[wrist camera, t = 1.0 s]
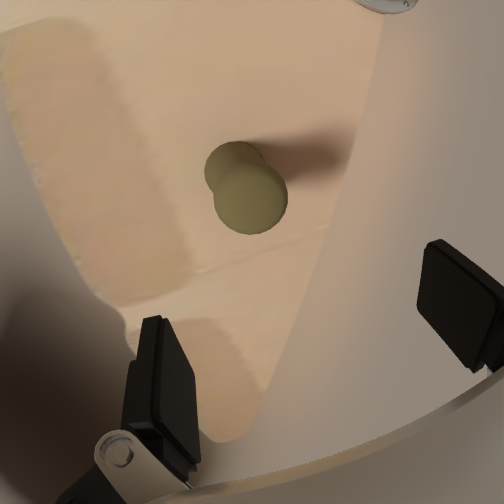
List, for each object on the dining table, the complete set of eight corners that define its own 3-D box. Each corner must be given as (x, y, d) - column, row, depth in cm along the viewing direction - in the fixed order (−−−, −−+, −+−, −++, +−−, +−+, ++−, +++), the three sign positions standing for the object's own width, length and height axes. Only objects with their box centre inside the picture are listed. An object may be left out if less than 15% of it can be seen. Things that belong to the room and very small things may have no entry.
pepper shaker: (275, 155, 29) (314, 181, 20) (250, 208, 31) (276, 258, 22) (218, 132, 27) (230, 145, 18) (195, 188, 30) (195, 231, 20)
